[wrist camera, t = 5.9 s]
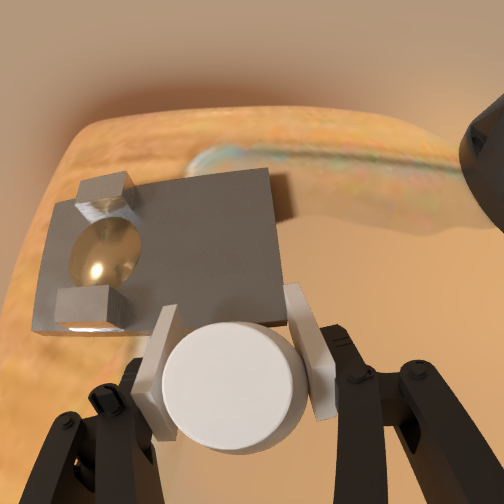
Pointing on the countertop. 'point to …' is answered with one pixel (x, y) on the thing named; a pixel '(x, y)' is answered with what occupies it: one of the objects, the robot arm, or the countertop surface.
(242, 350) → the supplement bottle
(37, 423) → the countertop surface
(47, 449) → the robot arm
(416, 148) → the countertop surface
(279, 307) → the hinge plate
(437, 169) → the countertop surface
